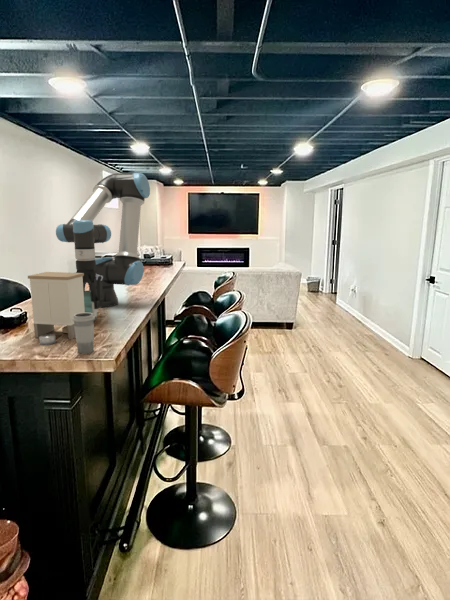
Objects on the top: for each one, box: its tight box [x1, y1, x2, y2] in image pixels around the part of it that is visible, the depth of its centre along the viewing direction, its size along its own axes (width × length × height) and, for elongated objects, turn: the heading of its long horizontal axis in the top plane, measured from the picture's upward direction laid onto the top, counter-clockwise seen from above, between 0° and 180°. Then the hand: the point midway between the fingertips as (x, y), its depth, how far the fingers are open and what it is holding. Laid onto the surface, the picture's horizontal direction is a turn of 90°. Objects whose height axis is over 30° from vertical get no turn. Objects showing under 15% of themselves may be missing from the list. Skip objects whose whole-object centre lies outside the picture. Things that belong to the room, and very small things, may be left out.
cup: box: [72, 312, 95, 355], centre depth 122 cm, size 7×7×12 cm
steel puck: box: [38, 333, 57, 346], centre depth 131 cm, size 5×5×2 cm
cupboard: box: [27, 271, 85, 340], centre depth 139 cm, size 11×15×22 cm
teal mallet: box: [61, 290, 98, 334], centre depth 151 cm, size 20×4×12 cm, turn 172°
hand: (89, 316), depth 160 cm, fingers closed on teal mallet, 4 cm apart
